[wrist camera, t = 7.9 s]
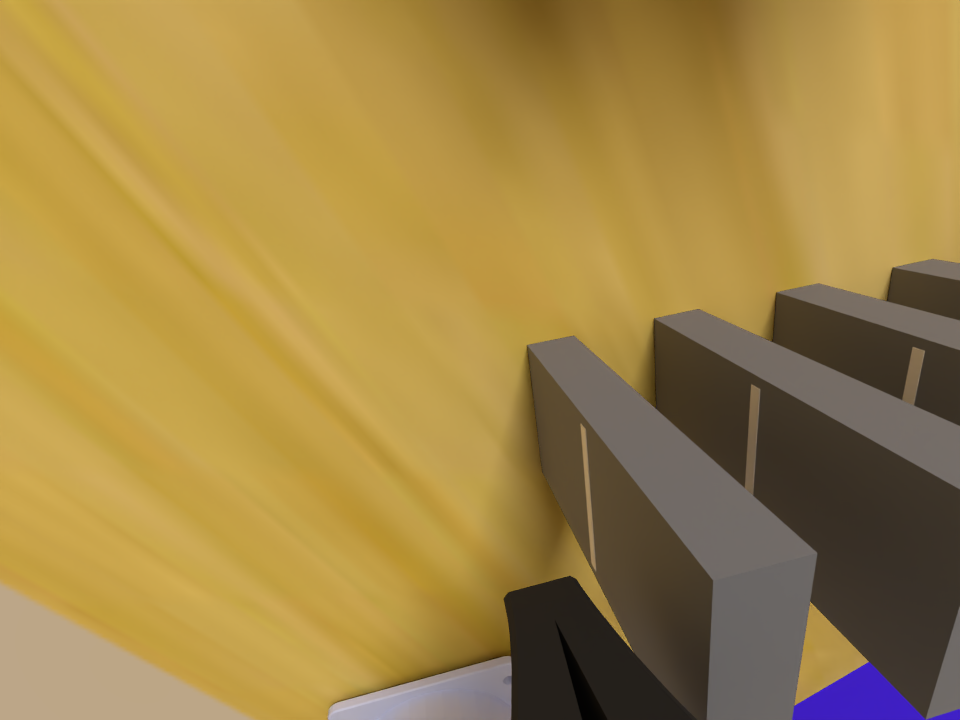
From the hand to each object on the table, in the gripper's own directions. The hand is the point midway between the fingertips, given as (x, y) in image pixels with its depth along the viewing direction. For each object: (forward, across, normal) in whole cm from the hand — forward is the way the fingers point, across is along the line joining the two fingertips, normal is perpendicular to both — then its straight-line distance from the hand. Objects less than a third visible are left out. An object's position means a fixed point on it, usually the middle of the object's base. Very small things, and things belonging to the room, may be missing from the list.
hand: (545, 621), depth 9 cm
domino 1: (+8, -3, 0) cm, 8 cm away
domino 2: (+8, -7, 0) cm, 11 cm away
